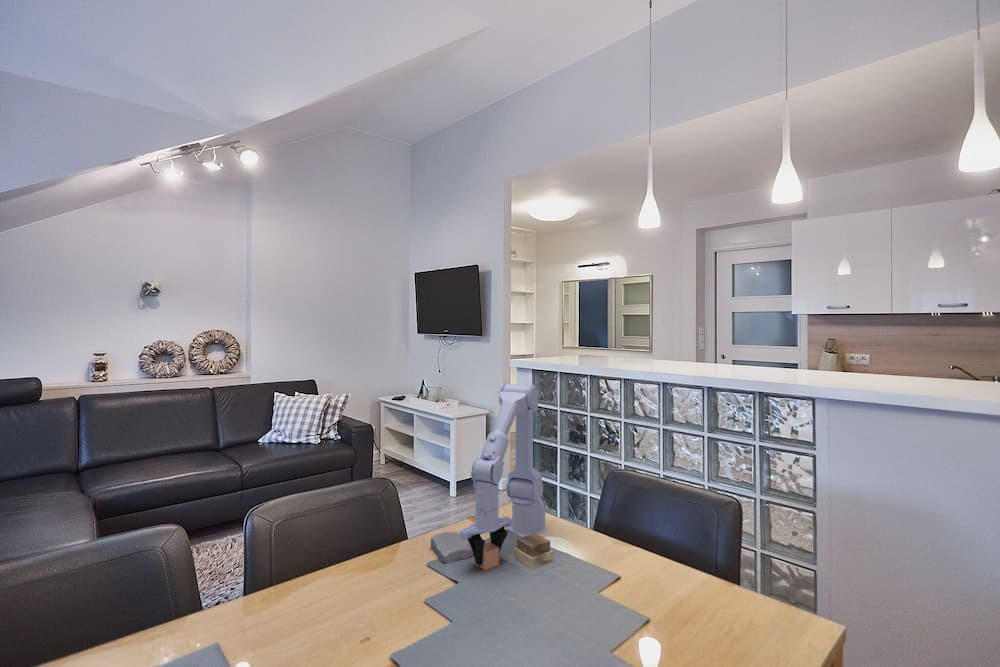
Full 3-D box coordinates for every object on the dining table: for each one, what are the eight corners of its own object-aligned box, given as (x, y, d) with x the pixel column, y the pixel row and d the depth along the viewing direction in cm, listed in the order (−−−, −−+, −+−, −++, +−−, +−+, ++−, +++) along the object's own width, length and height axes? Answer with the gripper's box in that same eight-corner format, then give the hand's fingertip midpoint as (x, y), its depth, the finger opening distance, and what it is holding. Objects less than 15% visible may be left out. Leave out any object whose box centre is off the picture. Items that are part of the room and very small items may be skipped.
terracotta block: (489, 560, 127) (489, 541, 127) (499, 567, 123) (499, 547, 123) (474, 565, 124) (474, 545, 124) (484, 572, 121) (484, 552, 121)
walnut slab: (534, 542, 130) (534, 533, 130) (550, 550, 126) (550, 541, 125) (517, 548, 127) (517, 538, 127) (532, 557, 122) (532, 547, 122)
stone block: (460, 548, 138) (426, 547, 134) (464, 530, 138) (430, 530, 134) (476, 568, 128) (440, 569, 123) (480, 550, 128) (444, 549, 123)
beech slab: (535, 550, 131) (535, 541, 131) (552, 560, 125) (553, 551, 125) (514, 557, 127) (514, 548, 127) (531, 568, 121) (531, 558, 121)
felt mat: (536, 546, 135) (536, 544, 135) (567, 564, 125) (567, 561, 125) (500, 559, 128) (500, 556, 128) (530, 578, 118) (530, 576, 118)
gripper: (500, 496, 131) (500, 547, 131) (453, 508, 122) (453, 562, 123) (517, 504, 125) (517, 557, 126) (469, 517, 117) (469, 574, 117)
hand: (486, 560), depth 124 cm, fingers closed on terracotta block, 4 cm apart
